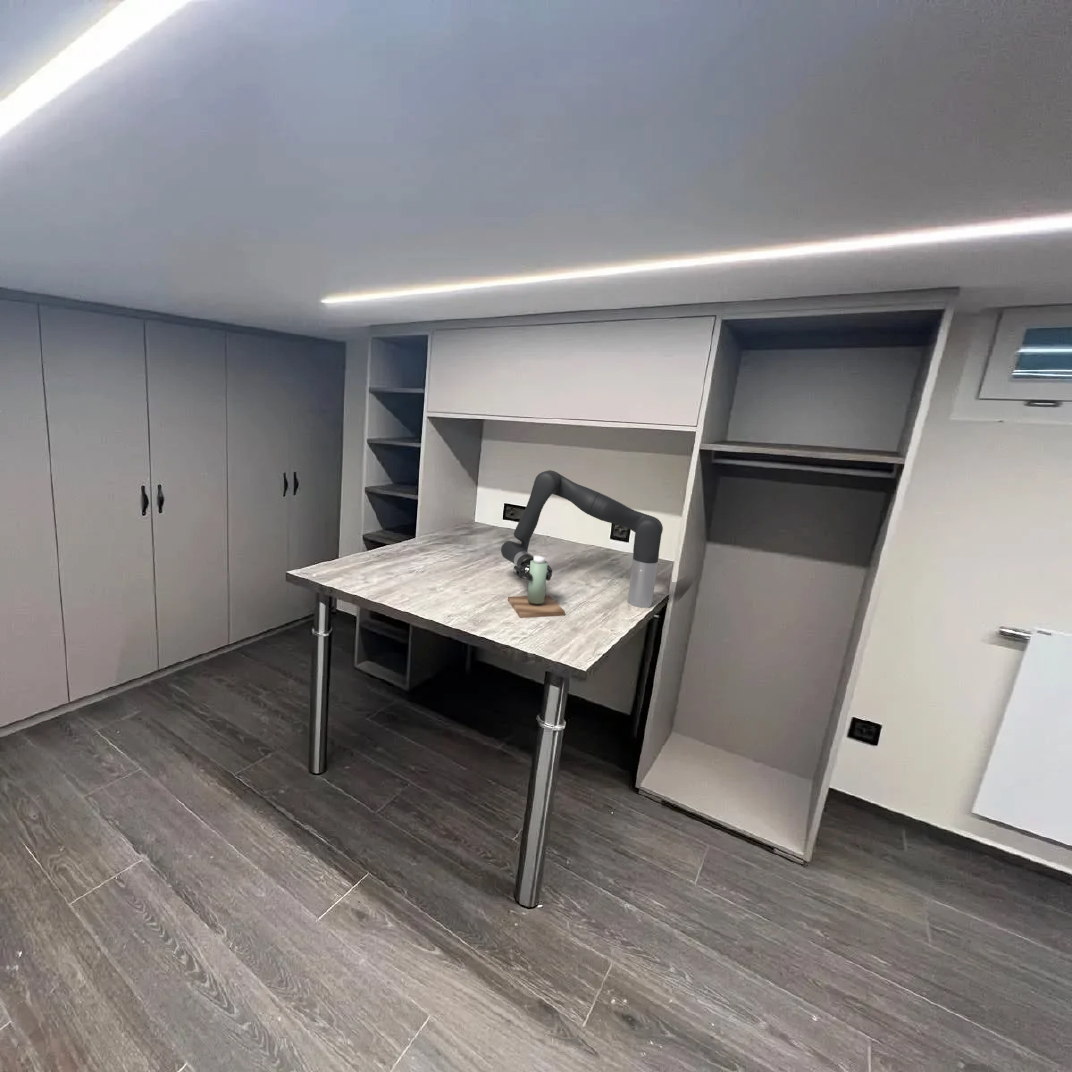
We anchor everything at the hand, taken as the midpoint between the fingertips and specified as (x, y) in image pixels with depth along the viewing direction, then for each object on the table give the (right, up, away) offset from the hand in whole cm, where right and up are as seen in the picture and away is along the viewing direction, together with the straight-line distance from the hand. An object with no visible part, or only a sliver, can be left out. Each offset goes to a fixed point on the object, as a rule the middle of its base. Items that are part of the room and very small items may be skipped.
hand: (540, 578), depth 172 cm
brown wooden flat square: (-2, -11, +5) cm, 12 cm away
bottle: (-2, -8, +4) cm, 9 cm away
